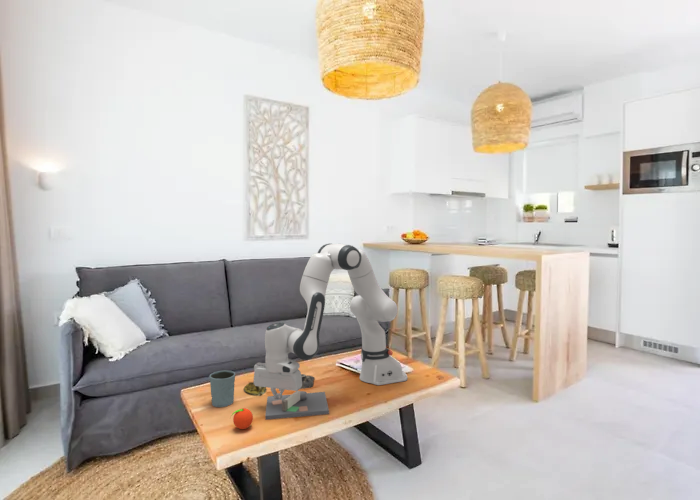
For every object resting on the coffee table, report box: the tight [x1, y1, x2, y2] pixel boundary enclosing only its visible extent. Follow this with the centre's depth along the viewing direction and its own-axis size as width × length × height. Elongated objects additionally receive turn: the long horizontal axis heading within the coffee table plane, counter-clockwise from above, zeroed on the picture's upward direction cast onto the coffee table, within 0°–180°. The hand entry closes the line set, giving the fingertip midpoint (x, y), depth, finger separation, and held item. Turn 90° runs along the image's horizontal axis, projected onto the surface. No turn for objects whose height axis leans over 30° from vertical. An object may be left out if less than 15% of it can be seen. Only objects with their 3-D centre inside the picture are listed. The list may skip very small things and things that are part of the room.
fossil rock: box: [299, 373, 315, 390], centre depth 188 cm, size 19×4×15 cm
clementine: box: [229, 407, 254, 430], centre depth 147 cm, size 8×7×7 cm
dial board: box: [264, 391, 330, 421], centre depth 164 cm, size 24×18×2 cm
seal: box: [243, 381, 268, 397], centre depth 182 cm, size 9×5×15 cm
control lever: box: [282, 390, 308, 411], centre depth 163 cm, size 15×4×4 cm, turn 156°
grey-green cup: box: [209, 369, 236, 408], centre depth 169 cm, size 10×10×12 cm
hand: (277, 398), depth 162 cm, fingers closed
